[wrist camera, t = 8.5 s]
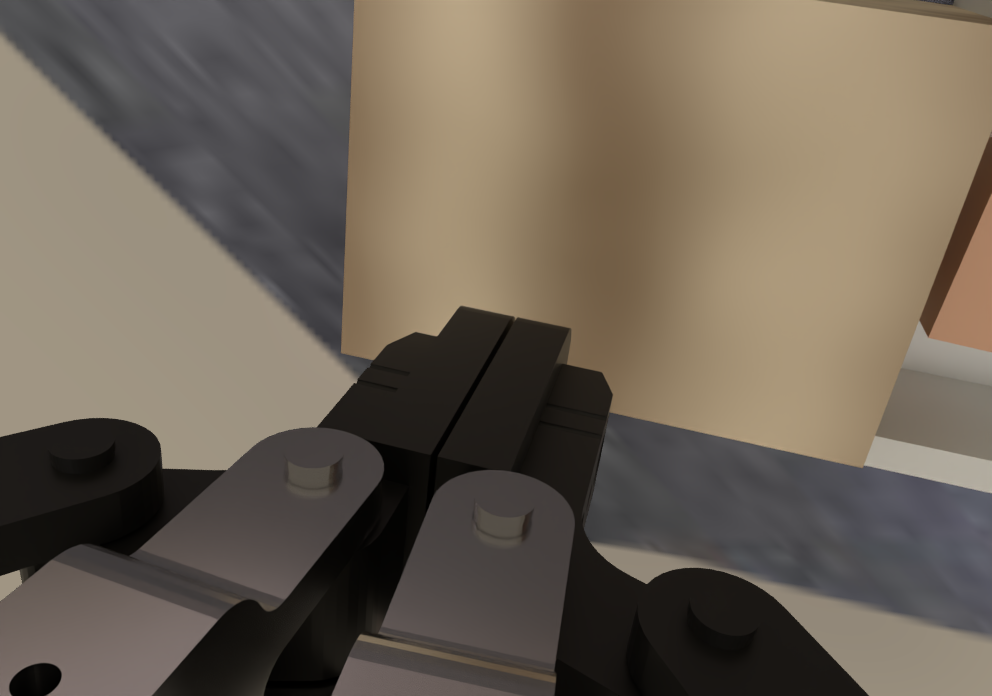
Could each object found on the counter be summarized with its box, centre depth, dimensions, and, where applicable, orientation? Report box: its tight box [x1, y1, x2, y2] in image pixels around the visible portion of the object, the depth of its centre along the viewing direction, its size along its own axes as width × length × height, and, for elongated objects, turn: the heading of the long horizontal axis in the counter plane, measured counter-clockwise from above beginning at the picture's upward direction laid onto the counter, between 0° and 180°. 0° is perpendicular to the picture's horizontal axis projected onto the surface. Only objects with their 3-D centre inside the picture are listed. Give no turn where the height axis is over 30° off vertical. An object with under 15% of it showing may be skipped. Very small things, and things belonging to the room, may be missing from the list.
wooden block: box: [341, 0, 992, 468], centre depth 20 cm, size 12×9×6 cm
